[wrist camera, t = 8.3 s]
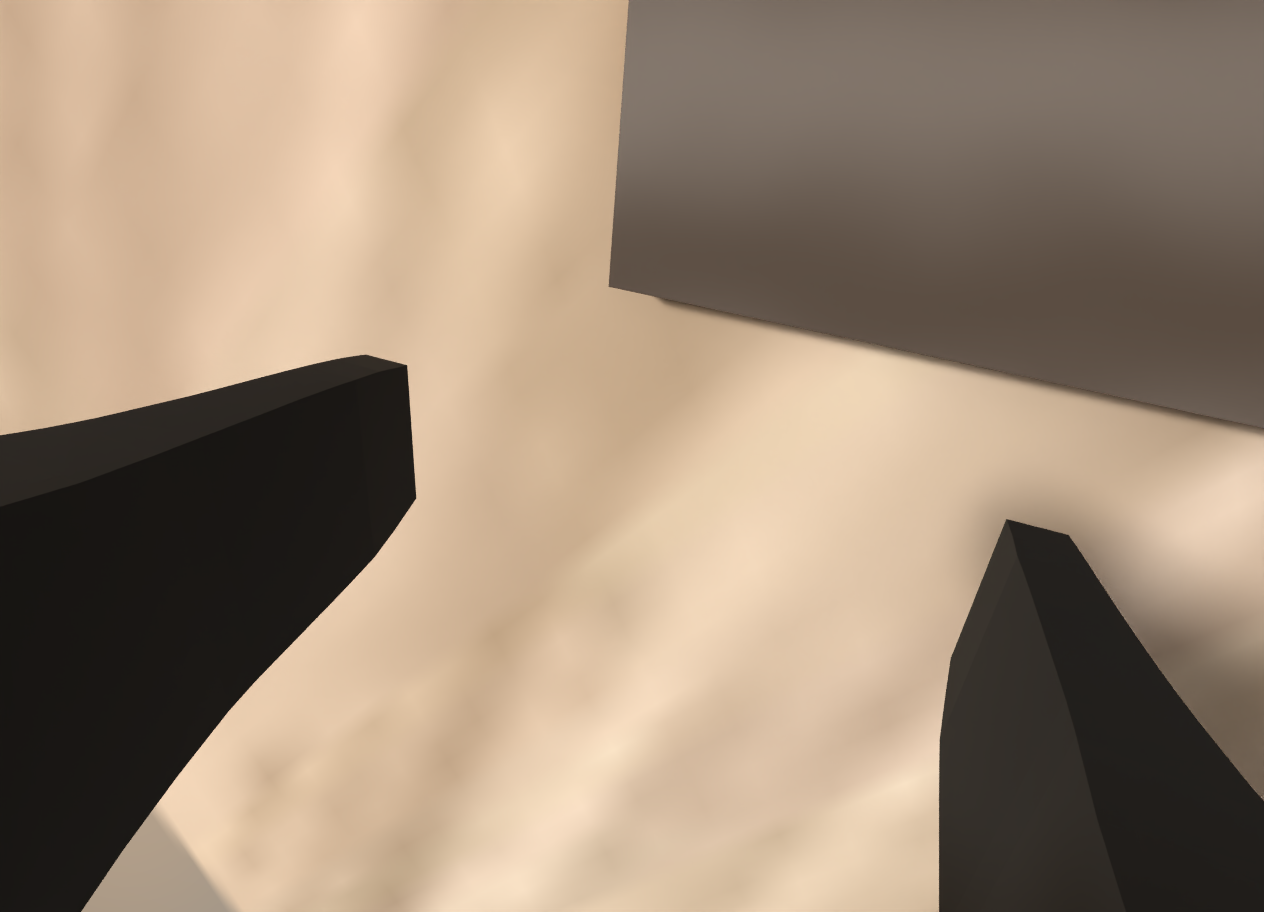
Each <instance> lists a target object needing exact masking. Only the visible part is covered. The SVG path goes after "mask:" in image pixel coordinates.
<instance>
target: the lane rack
mask: <svg viewBox="0 0 1264 912" xmlns="http://www.w3.org/2000/svg"><path fill="white" fill-rule="evenodd" d="M609 287H613V288H618V289H622V290H627V291H631V292H636V293H641V294H645V295H650V296H655V297H659V298H664V299H668V300H673V301H678V302H682V303H687V304H692V305H696V306H701V307H705V308H710V309H715V310H719V311H724V312H729V313H733V314H738V315H742V316H747V317H752V318H756V319H761V320H766V321H770V322H775V323H779V324H784V325H789V326H793V327H798V328H803V329H807V330H812V331H816V332H821V333H826V334H830V335H835V336H840V337H844V338H849V339H853V340H858V341H863V342H867V343H872V344H877V345H881V346H886V347H890V348H895V349H900V350H904V351H909V352H914V353H918V354H923V355H927V356H932V357H937V358H941V359H946V360H951V361H955V362H960V363H964V364H969V365H974V366H978V367H983V368H988V369H992V370H997V371H1001V372H1006V373H1011V374H1015V375H1020V376H1025V377H1029V378H1034V379H1038V380H1043V381H1048V382H1052V383H1057V384H1062V385H1066V386H1071V387H1075V388H1080V389H1085V390H1089V391H1094V392H1099V393H1103V394H1108V395H1112V396H1117V397H1122V398H1126V399H1131V400H1136V401H1140V402H1145V403H1149V404H1154V405H1159V406H1163V407H1168V408H1173V409H1177V410H1182V411H1186V412H1191V413H1196V414H1200V415H1205V416H1210V417H1214V418H1219V419H1223V420H1228V421H1233V422H1237V423H1242V424H1247V425H1251V426H1256V427H1260V428H1264V0H629V6H628V20H627V34H626V48H625V63H624V77H623V91H622V105H621V119H620V134H619V148H618V162H617V176H616V191H615V205H614V219H613V233H612V247H611V262H610V276H609Z"/></svg>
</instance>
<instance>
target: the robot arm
mask: <svg viewBox="0 0 1264 912" xmlns="http://www.w3.org/2000/svg"><path fill="white" fill-rule="evenodd" d="M415 499H416V488H415V473H414V459H413V444H412V430H411V415H410V400H409V386H408V371H407V365H404V364H400V363H396V362H392V361H388V360H384V359H380V358H377V357H373V356H369V355H360V356H353V357H346V358H340V359H335V360H331V361H326V362H321V363H317V364H313V365H308V366H304V367H300V368H296V369H292V370H288V371H284V372H281V373H277V374H273V375H269V376H265V377H261V378H258V379H254V380H250V381H246V382H242V383H238V384H235V385H231V386H227V387H223V388H219V389H216V390H212V391H208V392H204V393H200V394H197V395H193V396H189V397H184V398H180V399H176V400H172V401H167V402H163V403H159V404H155V405H150V406H146V407H142V408H137V409H133V410H129V411H125V412H120V413H116V414H112V415H108V416H103V417H99V418H94V419H89V420H85V421H80V422H75V423H70V424H64V425H59V426H54V427H48V428H43V429H37V430H31V431H25V432H19V433H12V434H6V435H0V912H81V911H82V909H83V908H84V906H85V905H86V903H87V902H88V901H89V899H90V898H91V896H92V895H93V893H94V892H95V890H96V889H97V888H98V886H99V885H100V883H101V882H102V880H103V879H104V877H105V876H106V874H107V872H108V871H109V870H110V868H111V867H112V866H113V864H114V862H115V861H116V860H117V858H118V857H119V855H120V854H121V852H122V851H123V849H124V848H125V847H126V845H127V844H128V843H129V841H130V840H131V838H132V837H133V836H134V834H135V833H136V832H137V830H138V829H139V828H140V826H141V825H142V824H143V822H144V821H145V819H146V818H147V817H148V815H149V814H150V813H151V811H152V810H153V809H154V807H155V806H156V805H157V803H158V802H159V800H160V799H161V798H162V796H163V795H164V794H165V792H166V791H167V790H168V788H169V787H170V786H171V784H172V783H173V781H174V780H175V779H176V777H177V776H178V775H179V774H180V772H181V771H182V770H183V768H184V767H185V766H186V765H187V763H188V762H189V761H190V760H191V758H192V757H193V756H194V754H195V753H196V752H197V751H198V749H199V748H200V747H201V746H202V744H203V743H204V742H205V740H206V739H207V738H208V737H209V735H210V734H211V733H212V732H213V730H214V729H215V728H216V726H217V725H218V724H219V723H220V721H221V720H222V719H223V718H224V716H225V715H226V714H227V713H228V711H229V710H230V709H231V708H232V707H233V706H234V705H235V703H236V702H237V701H238V700H239V699H240V698H241V697H242V696H243V694H244V693H245V692H246V691H247V690H248V689H249V688H250V687H251V685H252V684H253V683H254V682H255V681H256V680H257V679H258V678H259V677H260V676H261V675H262V674H263V673H264V672H265V671H266V670H267V669H268V668H269V667H270V666H271V665H272V664H273V662H274V661H275V660H276V659H277V658H278V657H279V656H280V655H281V654H282V653H283V652H284V651H285V650H286V649H287V648H288V647H289V646H290V645H291V644H292V643H293V642H294V641H295V640H296V639H297V638H298V637H299V636H300V635H301V634H302V633H303V632H304V631H305V630H306V628H307V627H308V626H309V625H310V624H311V623H312V622H313V621H314V620H315V619H316V618H317V617H318V616H319V615H320V614H321V613H322V612H323V611H324V610H325V609H326V608H327V607H328V606H329V605H330V604H331V603H332V602H333V601H334V600H335V599H336V598H337V596H338V595H339V594H340V593H341V592H342V591H343V590H344V589H345V588H346V587H347V586H348V585H349V584H350V583H351V582H352V581H353V580H354V579H355V578H356V576H357V575H358V574H359V573H360V572H361V571H362V570H363V569H364V568H365V567H366V566H367V565H368V564H369V562H370V561H371V560H372V559H373V558H374V557H375V556H376V554H377V553H378V552H379V550H380V549H381V548H382V546H383V545H384V544H385V542H386V541H387V540H388V538H389V537H390V536H391V534H392V533H393V532H394V530H395V529H396V527H397V526H398V524H399V523H400V521H401V520H402V518H403V517H404V515H405V514H406V512H407V511H408V510H409V508H410V507H411V505H412V504H413V502H414V501H415ZM939 912H1264V801H1263V800H1262V799H1261V798H1260V796H1259V795H1258V794H1257V793H1256V792H1255V791H1254V790H1253V788H1252V787H1251V786H1250V785H1249V784H1248V782H1247V781H1246V780H1245V779H1244V778H1243V776H1242V775H1241V774H1240V773H1239V771H1238V770H1237V769H1236V768H1235V766H1234V765H1233V764H1232V763H1231V762H1230V760H1229V759H1228V758H1227V757H1226V755H1225V754H1224V753H1223V752H1222V750H1221V749H1220V748H1219V747H1218V745H1217V744H1216V743H1215V742H1214V740H1213V739H1212V738H1211V737H1210V735H1209V734H1208V733H1207V732H1206V730H1205V729H1204V728H1203V727H1202V725H1201V724H1200V723H1199V722H1198V721H1197V719H1196V718H1195V717H1194V715H1193V714H1192V713H1191V711H1190V710H1189V709H1188V707H1187V706H1186V705H1185V703H1184V702H1183V701H1182V699H1181V698H1180V697H1179V695H1178V694H1177V693H1176V691H1175V690H1174V689H1173V687H1172V686H1171V685H1170V683H1169V682H1168V681H1167V679H1166V678H1165V676H1164V675H1163V674H1162V672H1161V671H1160V670H1159V668H1158V667H1157V665H1156V664H1155V663H1154V661H1153V660H1152V658H1151V657H1150V655H1149V654H1148V653H1147V651H1146V650H1145V648H1144V647H1143V646H1142V644H1141V643H1140V641H1139V640H1138V638H1137V637H1136V635H1135V634H1134V632H1133V631H1132V630H1131V628H1130V627H1129V625H1128V624H1127V622H1126V621H1125V619H1124V618H1123V616H1122V615H1121V613H1120V612H1119V610H1118V609H1117V607H1116V606H1115V604H1114V603H1113V601H1112V600H1111V598H1110V597H1109V595H1108V594H1107V592H1106V591H1105V589H1104V588H1103V586H1102V585H1101V583H1100V582H1099V580H1098V578H1097V577H1096V575H1095V574H1094V572H1093V571H1092V569H1091V568H1090V566H1089V565H1088V563H1087V562H1086V560H1085V559H1084V557H1083V556H1082V554H1081V552H1080V551H1079V550H1078V548H1077V547H1076V545H1075V544H1074V542H1073V541H1072V539H1071V538H1070V537H1069V535H1066V534H1062V533H1058V532H1054V531H1051V530H1047V529H1043V528H1039V527H1035V526H1031V525H1027V524H1023V523H1019V522H1015V521H1012V520H1008V519H1006V522H1005V524H1004V527H1003V529H1002V532H1001V534H1000V537H999V539H998V542H997V544H996V547H995V549H994V552H993V554H992V557H991V559H990V562H989V564H988V567H987V569H986V572H985V574H984V577H983V579H982V582H981V584H980V587H979V589H978V592H977V594H976V597H975V599H974V602H973V604H972V607H971V609H970V612H969V614H968V617H967V619H966V622H965V624H964V627H963V629H962V632H961V634H960V637H959V639H958V642H957V644H956V647H955V649H954V652H953V654H952V657H951V661H950V668H949V675H948V682H947V689H946V696H945V703H944V711H943V719H942V727H941V734H940V761H939Z"/></svg>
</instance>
